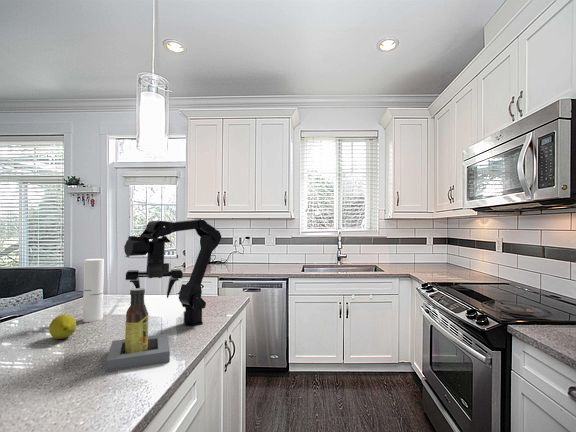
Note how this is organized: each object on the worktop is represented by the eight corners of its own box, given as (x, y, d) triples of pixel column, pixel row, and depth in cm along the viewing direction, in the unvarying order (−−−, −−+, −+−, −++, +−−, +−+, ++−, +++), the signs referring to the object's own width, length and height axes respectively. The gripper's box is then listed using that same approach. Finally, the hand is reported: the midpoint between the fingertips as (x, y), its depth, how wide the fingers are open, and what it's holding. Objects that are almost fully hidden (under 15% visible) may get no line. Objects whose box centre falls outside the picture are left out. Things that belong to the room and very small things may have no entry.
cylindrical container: (88, 317, 135) (90, 258, 136) (105, 316, 136) (107, 258, 137) (78, 322, 128) (80, 260, 129) (97, 321, 129) (98, 260, 130)
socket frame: (166, 343, 105) (166, 333, 106) (169, 361, 91) (169, 351, 91) (112, 350, 99) (112, 340, 99) (106, 371, 84) (106, 360, 84)
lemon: (50, 335, 112) (51, 313, 112) (77, 332, 116) (77, 310, 116) (45, 345, 103) (46, 321, 103) (74, 341, 107) (75, 317, 107)
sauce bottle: (147, 357, 94) (148, 290, 94) (123, 361, 91) (125, 292, 92) (148, 349, 100) (149, 286, 100) (126, 352, 97) (127, 287, 98)
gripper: (125, 256, 104) (123, 304, 103) (185, 256, 111) (183, 301, 110) (127, 254, 114) (125, 298, 113) (181, 254, 121) (180, 295, 120)
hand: (153, 298), depth 114 cm, fingers open, 9 cm apart
